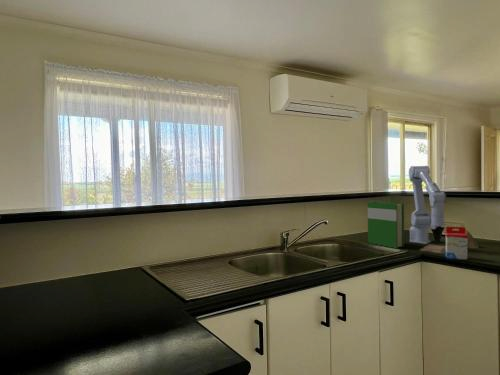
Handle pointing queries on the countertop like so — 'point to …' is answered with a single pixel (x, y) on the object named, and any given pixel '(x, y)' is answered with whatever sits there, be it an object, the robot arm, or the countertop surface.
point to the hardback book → (386, 224)
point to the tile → (435, 248)
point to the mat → (433, 251)
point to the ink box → (456, 243)
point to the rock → (471, 241)
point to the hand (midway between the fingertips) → (437, 240)
